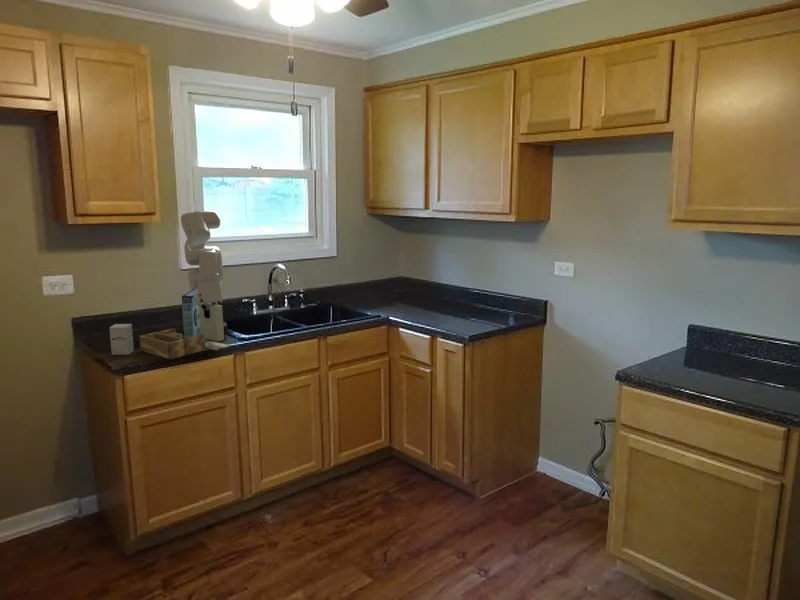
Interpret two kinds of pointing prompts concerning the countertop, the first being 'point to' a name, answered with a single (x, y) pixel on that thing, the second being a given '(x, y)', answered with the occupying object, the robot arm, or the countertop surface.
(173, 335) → the offcut pine
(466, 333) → the countertop surface
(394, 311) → the countertop surface
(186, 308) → the gum box
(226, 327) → the mate gourd
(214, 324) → the sage panel
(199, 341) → the oak rack
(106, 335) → the countertop surface
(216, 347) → the cork board
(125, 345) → the supplement box
